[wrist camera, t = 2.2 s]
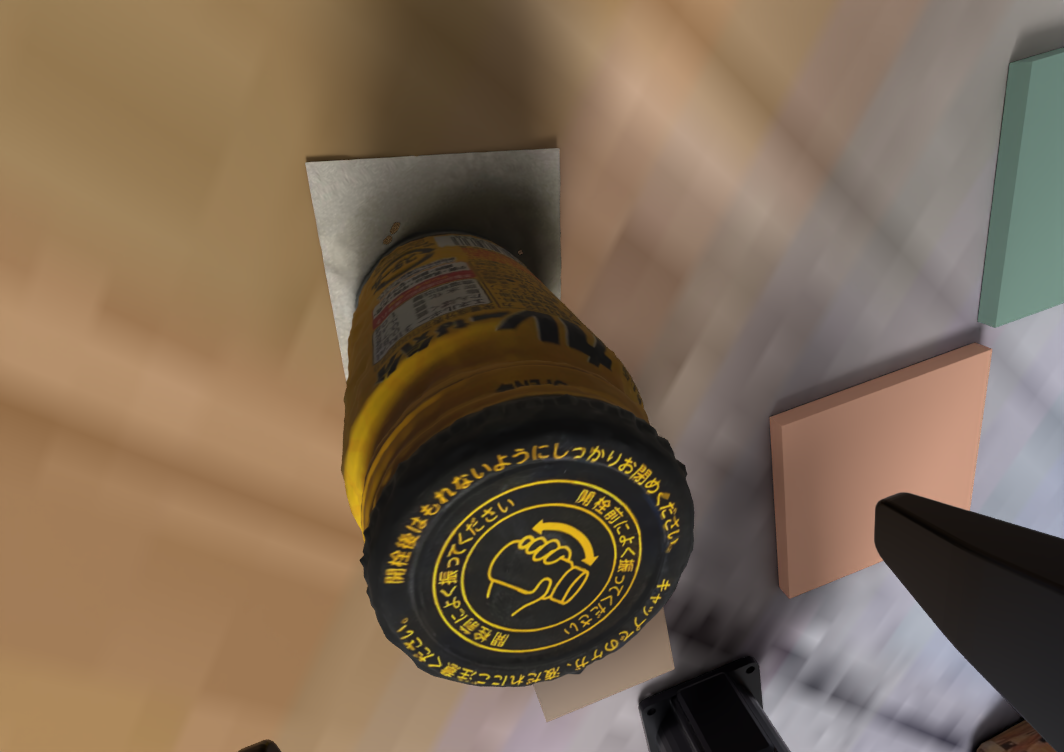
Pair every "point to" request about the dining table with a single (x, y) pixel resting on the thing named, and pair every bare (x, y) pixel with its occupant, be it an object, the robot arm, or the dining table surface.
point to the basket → (1017, 741)
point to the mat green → (1027, 196)
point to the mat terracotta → (872, 461)
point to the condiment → (489, 424)
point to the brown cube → (610, 672)
